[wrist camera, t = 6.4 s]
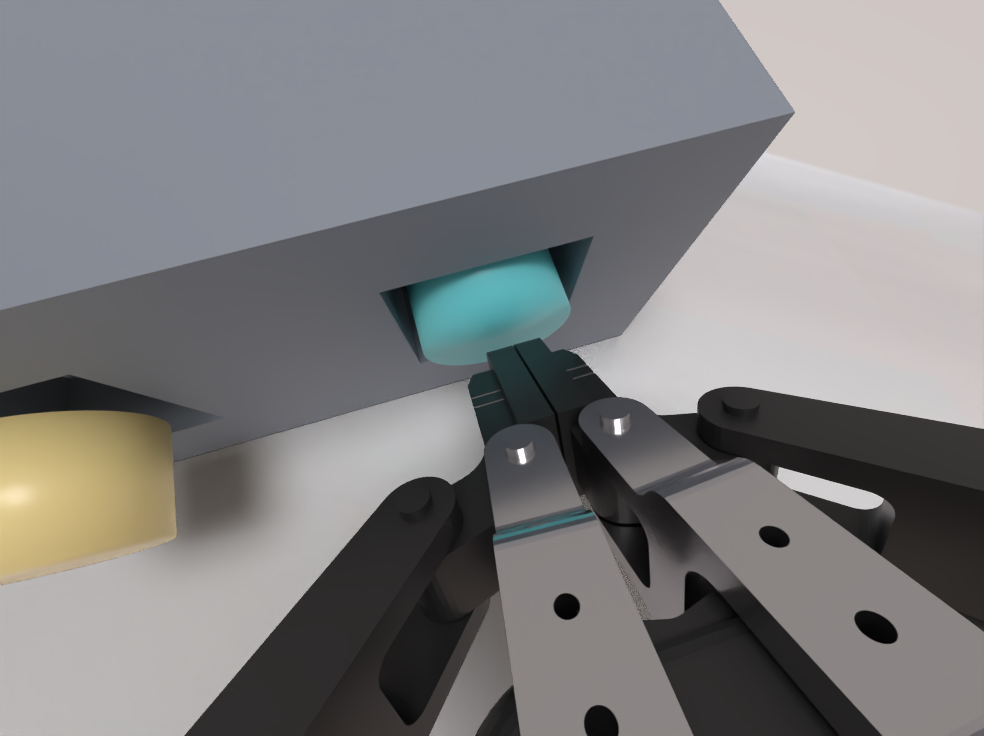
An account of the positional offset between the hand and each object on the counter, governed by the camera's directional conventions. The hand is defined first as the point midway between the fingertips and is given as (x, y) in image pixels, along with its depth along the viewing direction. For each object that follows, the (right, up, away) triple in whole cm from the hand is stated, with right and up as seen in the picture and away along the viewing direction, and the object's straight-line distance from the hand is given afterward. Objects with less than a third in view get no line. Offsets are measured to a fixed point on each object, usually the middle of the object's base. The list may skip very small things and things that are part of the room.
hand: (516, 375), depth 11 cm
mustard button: (-12, -4, +1) cm, 12 cm away
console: (-8, +2, +7) cm, 11 cm away
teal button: (-1, +2, +3) cm, 4 cm away
